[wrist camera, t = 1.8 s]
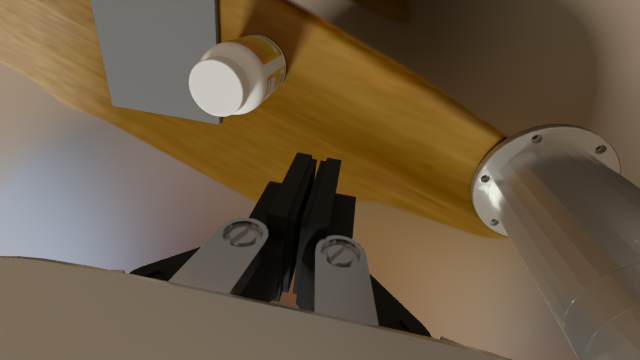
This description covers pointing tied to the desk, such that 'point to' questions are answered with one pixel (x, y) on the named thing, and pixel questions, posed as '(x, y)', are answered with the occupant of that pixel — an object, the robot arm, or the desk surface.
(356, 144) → the desk surface
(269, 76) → the supplement bottle
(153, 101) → the rubber mat
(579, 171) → the robot arm
